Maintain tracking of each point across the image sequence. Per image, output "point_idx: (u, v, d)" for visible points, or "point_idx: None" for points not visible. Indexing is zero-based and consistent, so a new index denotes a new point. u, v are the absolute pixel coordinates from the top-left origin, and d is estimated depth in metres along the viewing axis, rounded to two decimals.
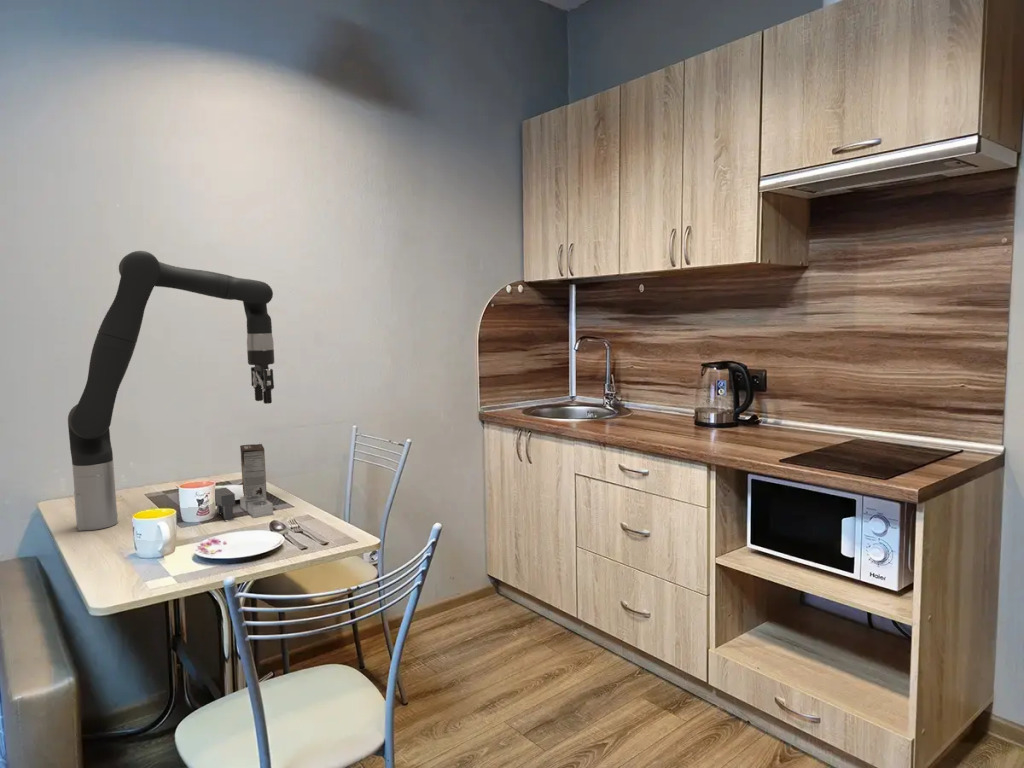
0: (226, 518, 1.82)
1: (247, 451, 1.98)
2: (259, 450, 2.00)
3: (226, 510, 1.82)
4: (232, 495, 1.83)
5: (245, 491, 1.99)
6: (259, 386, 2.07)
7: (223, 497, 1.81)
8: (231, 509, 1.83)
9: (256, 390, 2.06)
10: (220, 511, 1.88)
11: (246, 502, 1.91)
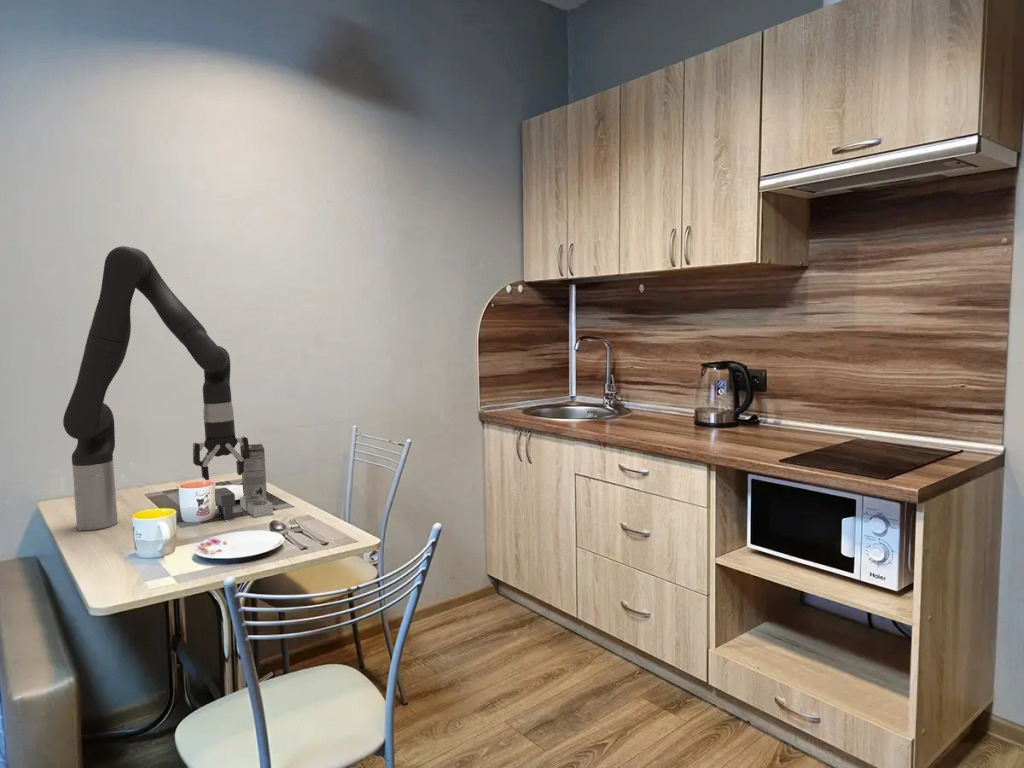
0: (226, 518, 1.82)
1: None
2: (259, 450, 2.00)
3: (226, 510, 1.82)
4: (232, 495, 1.83)
5: (245, 491, 1.99)
6: None
7: (223, 497, 1.81)
8: (231, 509, 1.83)
9: (207, 468, 1.82)
10: (220, 511, 1.88)
11: (246, 502, 1.91)
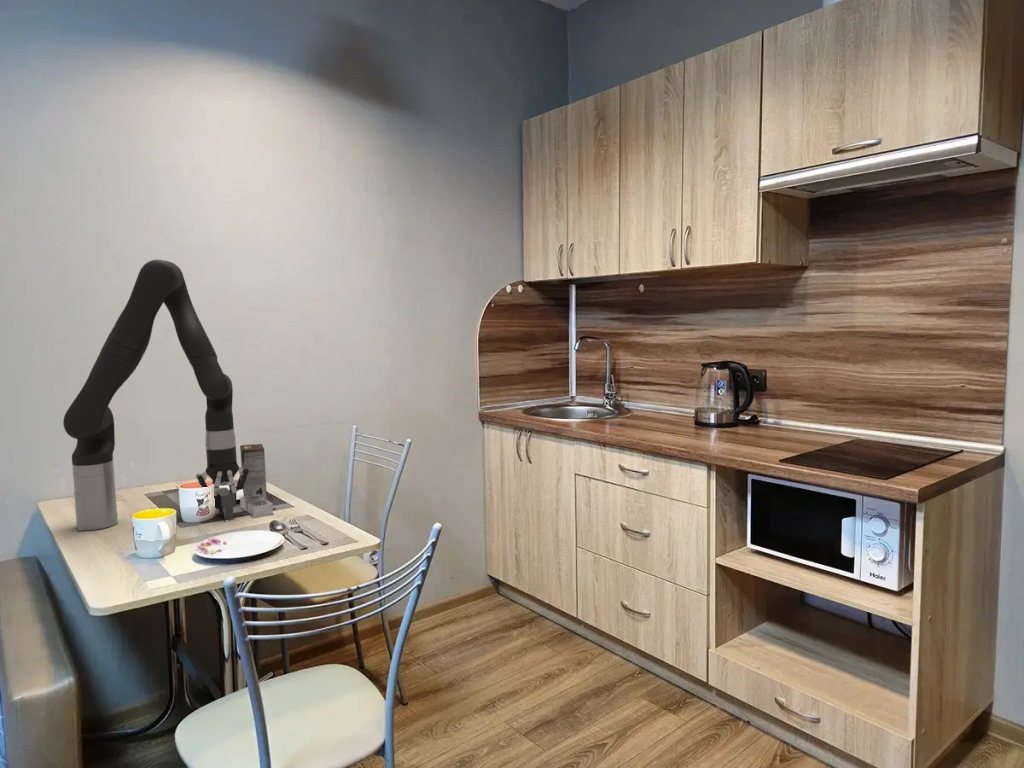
0: (226, 518, 1.82)
1: (247, 451, 1.98)
2: (259, 450, 2.00)
3: (226, 510, 1.82)
4: (232, 495, 1.83)
5: (245, 491, 1.99)
6: None
7: (223, 497, 1.81)
8: (232, 509, 1.83)
9: None
10: (220, 511, 1.88)
11: (246, 502, 1.91)
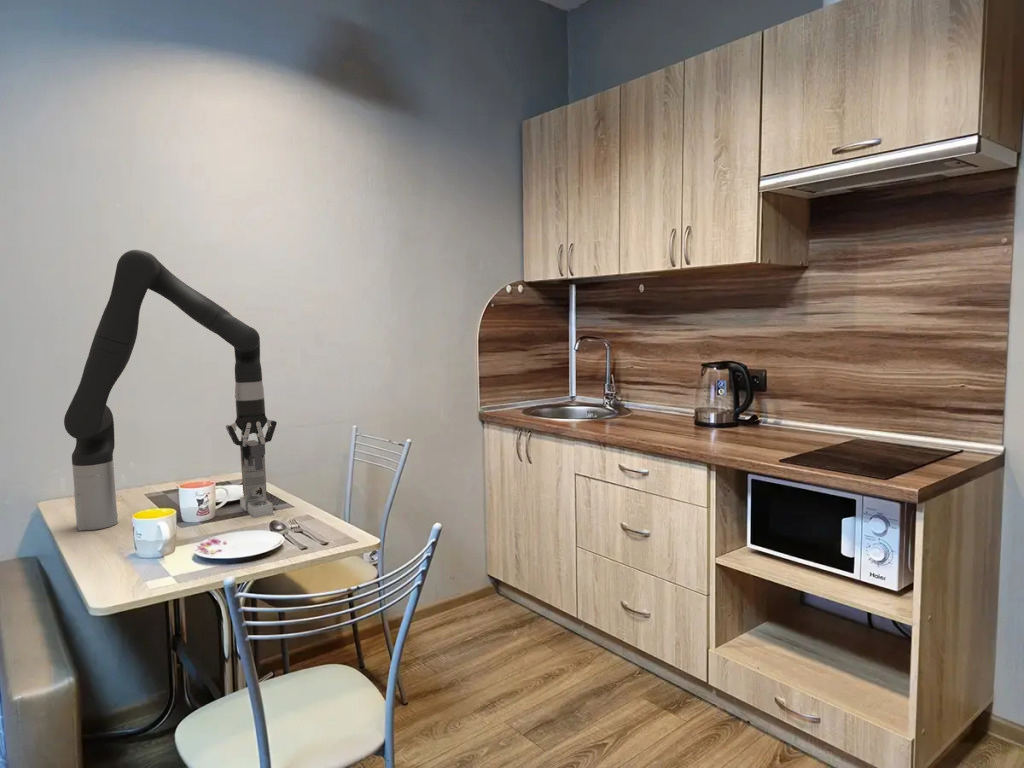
0: (256, 468, 1.86)
1: None
2: None
3: (255, 460, 1.86)
4: (261, 445, 1.86)
5: (245, 491, 1.99)
6: None
7: (253, 447, 1.85)
8: (261, 459, 1.87)
9: None
10: (249, 463, 1.92)
11: (246, 502, 1.91)
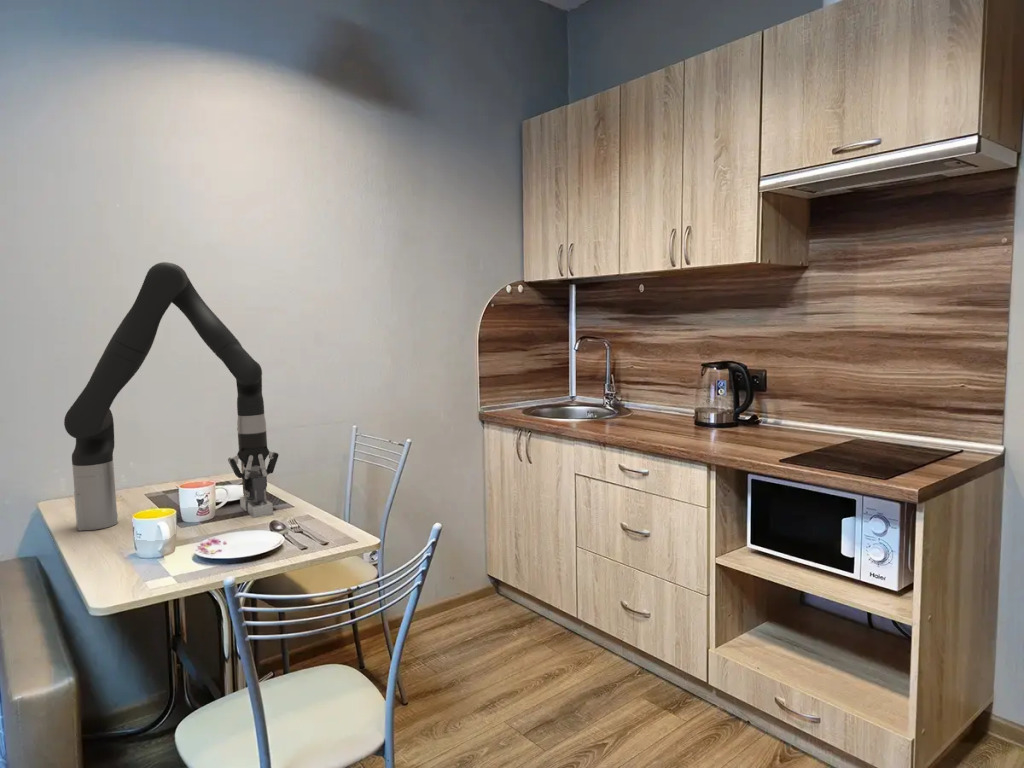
0: (258, 500, 1.87)
1: None
2: None
3: (257, 493, 1.87)
4: (263, 478, 1.87)
5: (245, 491, 1.99)
6: None
7: (255, 480, 1.86)
8: (263, 491, 1.88)
9: None
10: (251, 494, 1.93)
11: (246, 502, 1.91)
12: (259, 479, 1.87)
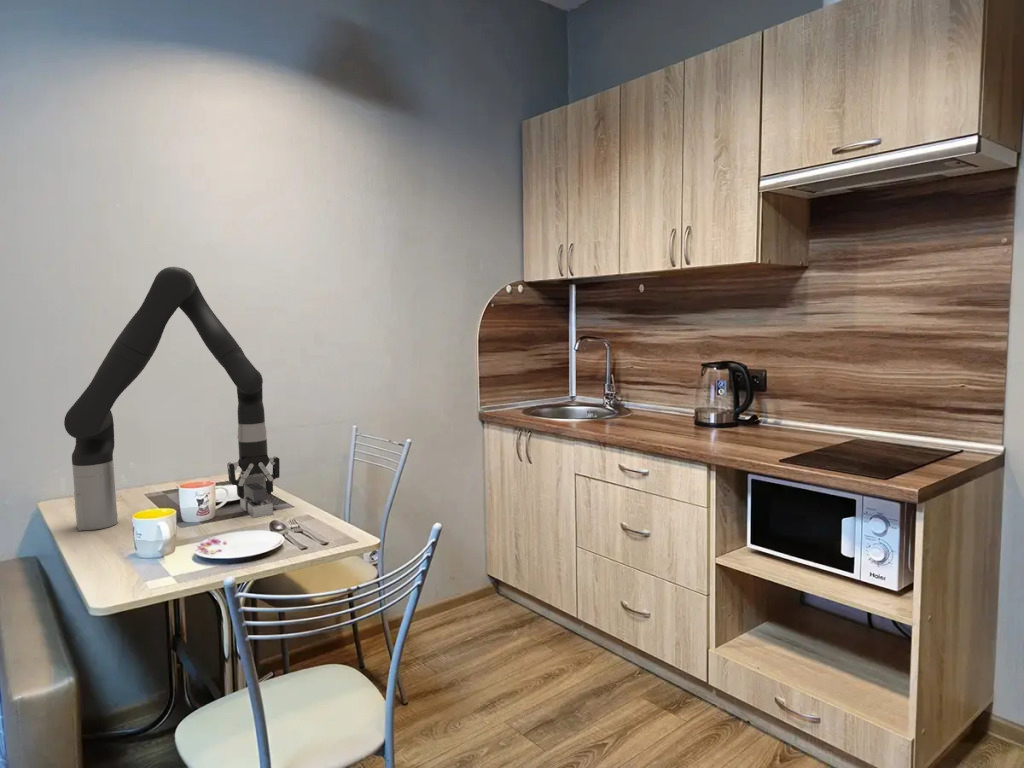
0: None
1: None
2: None
3: (258, 504, 1.87)
4: (264, 490, 1.88)
5: None
6: None
7: (255, 492, 1.86)
8: None
9: None
10: None
11: (246, 502, 1.91)
12: (259, 491, 1.87)
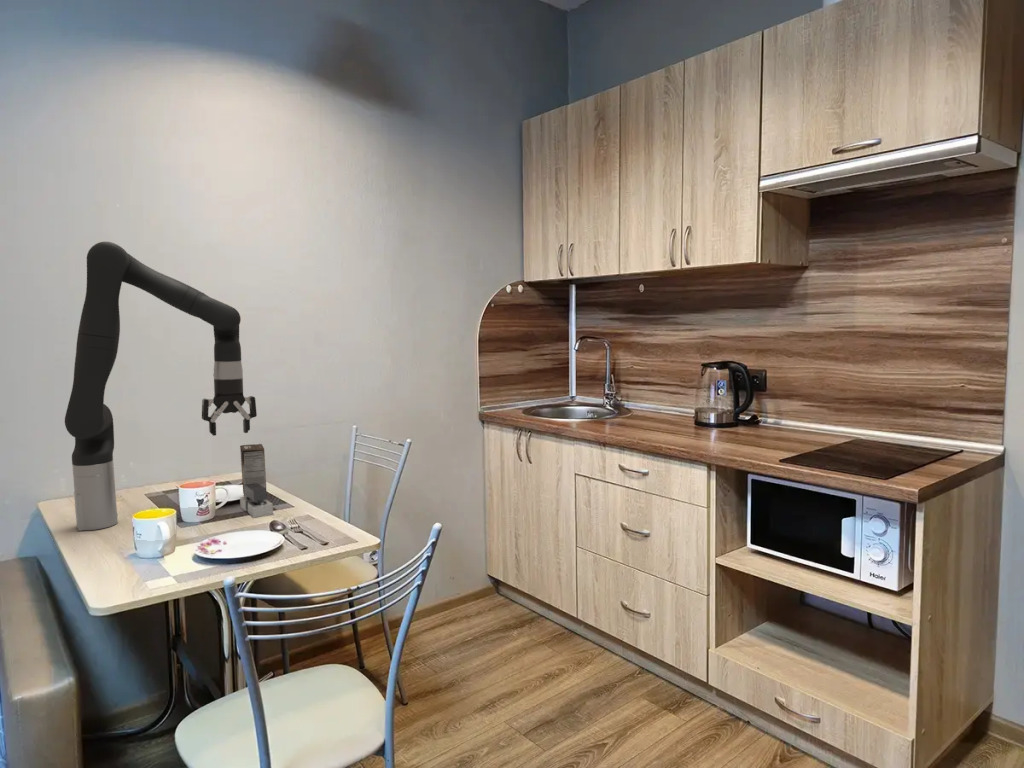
0: None
1: (247, 451, 1.98)
2: (259, 450, 2.00)
3: (257, 504, 1.87)
4: (264, 490, 1.88)
5: None
6: None
7: (255, 492, 1.86)
8: None
9: (215, 423, 1.88)
10: None
11: (246, 502, 1.91)
12: (259, 491, 1.87)
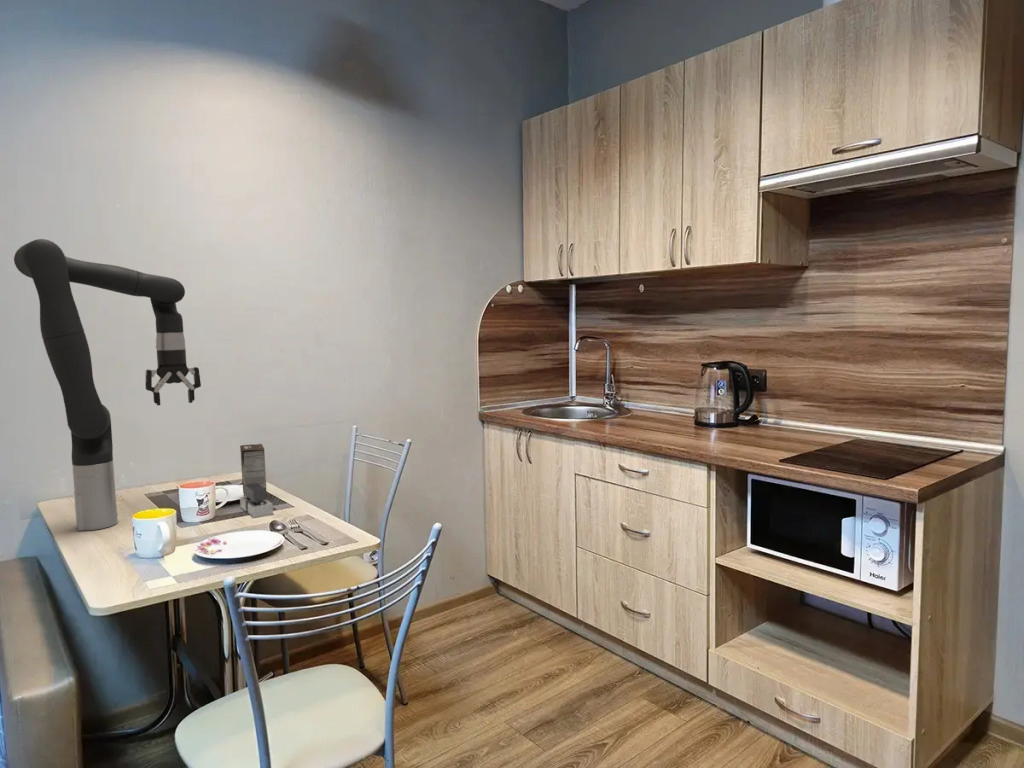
0: None
1: (247, 451, 1.98)
2: (259, 450, 2.00)
3: (257, 504, 1.87)
4: (264, 490, 1.88)
5: None
6: None
7: (255, 492, 1.86)
8: None
9: (159, 393, 1.93)
10: None
11: (246, 502, 1.91)
12: (259, 491, 1.87)
